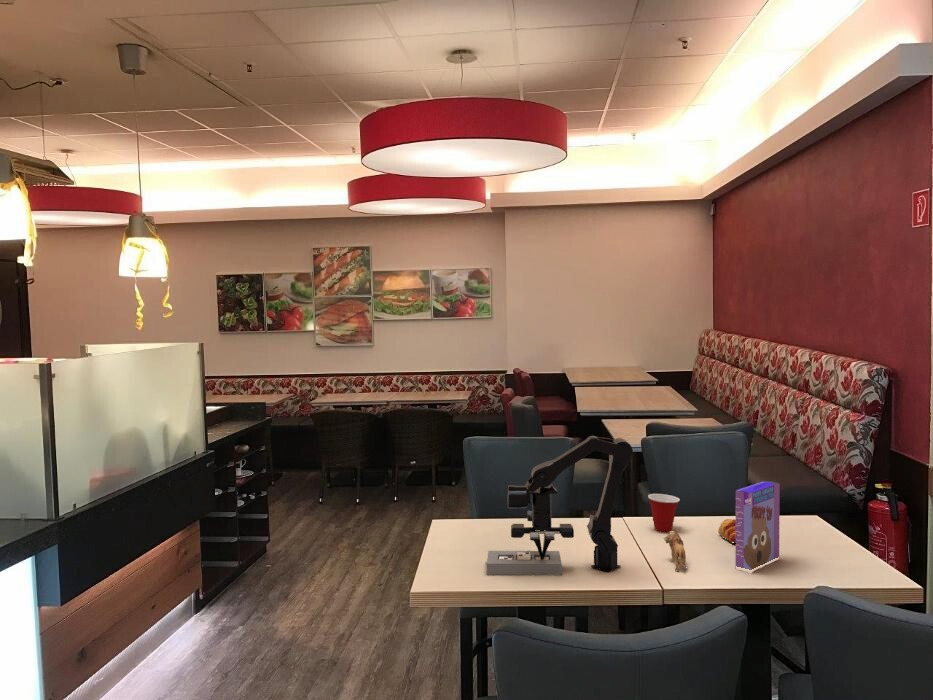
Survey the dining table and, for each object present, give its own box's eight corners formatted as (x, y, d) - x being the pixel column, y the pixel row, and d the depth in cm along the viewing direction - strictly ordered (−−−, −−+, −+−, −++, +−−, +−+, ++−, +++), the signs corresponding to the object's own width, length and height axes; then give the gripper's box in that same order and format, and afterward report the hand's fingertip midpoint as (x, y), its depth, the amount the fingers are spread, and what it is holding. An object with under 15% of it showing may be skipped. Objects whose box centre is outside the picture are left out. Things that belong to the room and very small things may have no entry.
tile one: (548, 562, 233) (548, 556, 233) (549, 567, 229) (549, 560, 229) (535, 562, 234) (535, 556, 233) (535, 567, 230) (535, 560, 229)
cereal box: (750, 573, 224) (750, 492, 223) (735, 569, 228) (735, 489, 226) (779, 559, 236) (779, 482, 234) (764, 556, 239) (764, 480, 238)
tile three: (512, 562, 234) (512, 556, 234) (512, 566, 230) (512, 560, 230) (499, 562, 234) (499, 555, 234) (499, 566, 230) (499, 560, 230)
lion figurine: (662, 557, 239) (662, 529, 239) (679, 557, 239) (679, 529, 239) (677, 574, 224) (677, 544, 224) (695, 573, 225) (695, 543, 224)
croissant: (721, 538, 270) (710, 517, 270) (748, 525, 268) (736, 505, 268) (730, 556, 249) (718, 534, 249) (759, 543, 247) (746, 521, 247)
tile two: (530, 558, 234) (530, 551, 233) (530, 562, 230) (530, 556, 229) (517, 558, 234) (517, 551, 234) (517, 562, 230) (517, 555, 230)
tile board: (559, 561, 237) (559, 550, 237) (561, 575, 225) (561, 563, 225) (488, 561, 238) (488, 550, 238) (487, 574, 227) (486, 563, 226)
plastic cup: (683, 534, 263) (683, 500, 262) (651, 535, 263) (651, 500, 262) (675, 525, 273) (675, 492, 273) (645, 526, 274) (645, 492, 273)
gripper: (570, 500, 238) (571, 550, 239) (510, 501, 239) (511, 550, 240) (573, 510, 227) (574, 562, 228) (510, 510, 228) (511, 561, 229)
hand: (542, 558), depth 231 cm, fingers closed, pressing on tile one
